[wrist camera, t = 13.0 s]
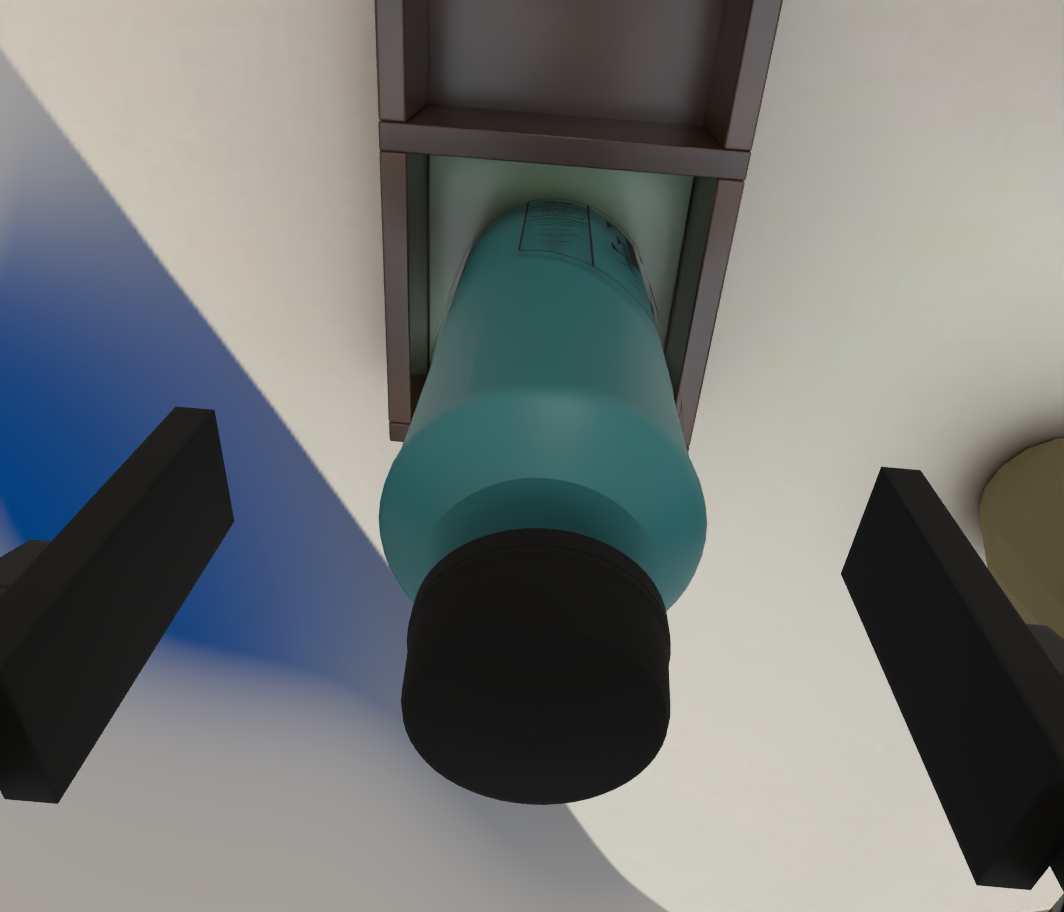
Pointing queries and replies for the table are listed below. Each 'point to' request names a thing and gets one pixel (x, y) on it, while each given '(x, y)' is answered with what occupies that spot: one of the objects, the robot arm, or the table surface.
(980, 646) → the robot arm
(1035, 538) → the squeeze bottle
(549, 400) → the beverage bottle
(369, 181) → the table surface
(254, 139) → the table surface
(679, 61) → the divided box
